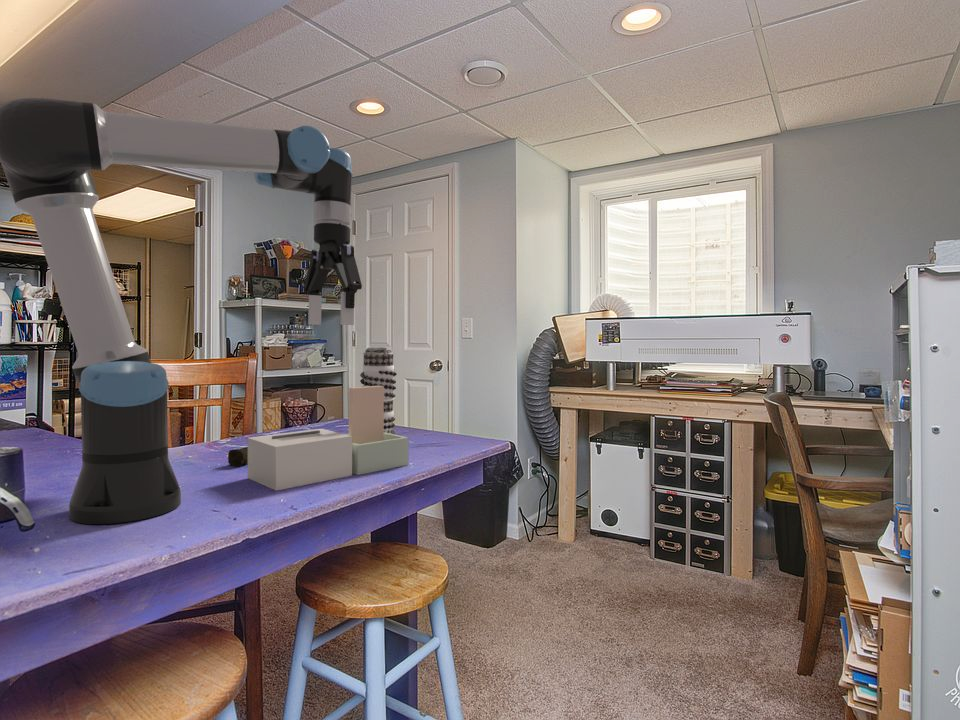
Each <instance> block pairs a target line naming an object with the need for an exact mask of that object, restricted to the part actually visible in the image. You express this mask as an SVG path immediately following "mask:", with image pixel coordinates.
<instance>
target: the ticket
mask: <svg viewBox="0 0 960 720" xmlns="http://www.w3.org/2000/svg"><path fill="white" fill-rule="evenodd" d="M348 433H349V435H350V436H352V443H356V444H364V443H371V442H377V441H383V440H384V386H368V387H363V386H357V387H348Z"/></svg>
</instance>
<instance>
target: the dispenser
mask: <svg viewBox="0 0 960 720" xmlns="http://www.w3.org/2000/svg"><path fill="white" fill-rule="evenodd" d="M346 434H347V433H341V432H337V431H332V430H330V429H325V428H316V429H307V430H305V429H304V430H298V431H289V432H284V433H273V434H268V435H260V436H252V437H247V447H248V463H247V479H249V480H251V481H253V482H256V483H258V484H260V485H263V486H264V487H266V488H269V489H271V490H274V491H280V490H286V489H290V488H297V487H301V486H306V485H310V484H312V485H313V484H316V483H321V482H326V481H331V480H336V479H341V478H346V477H350V476H351V477H352V476H353V473H352V436H350V435H346Z"/></svg>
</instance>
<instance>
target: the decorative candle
mask: <svg viewBox="0 0 960 720" xmlns="http://www.w3.org/2000/svg"><path fill="white" fill-rule="evenodd" d="M362 354H363V365H362V372H361V373H360V375H359V376H360V377H361V379H360V381H359V382H360V384H361V385H362V387H368V386H384V432H385V433H390V434H394V435H396V430H395V429H394V428H395V427H396V424H395V423H394V422H395V421H396V418H395V417H394V416H395V414H394V413H395V411H394V400H396V394H394V391H395V390H396V389H397V387H396V386H395V384H396V383H397V380H395V379H394V377H396V376H397V374H398V373H397V372H395V365H394V353H393V351H392V349H391V348H390V347H367V348H366V349H365V351H364V352H363V353H362Z"/></svg>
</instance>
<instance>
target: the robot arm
mask: <svg viewBox="0 0 960 720" xmlns="http://www.w3.org/2000/svg"><path fill="white" fill-rule="evenodd" d="M0 164H1V166H2V169H3V172H4V174H5V178H6V180H7V183H8V187H9V190H10V192H11V194H12V198H13V201H14V204H15V206H16V207H17V208H18V209H20V210H21V211H23V212H25V213H26V214H28V215H30V216H31V219H32V221H33V225H34V228H35V230H36V233H37V236H38V240H39V243H40V245H41V248H42V250H43V254H44V257H45V260H46V263H47V265H48V268H49V272H50V274H51V277H52V281H53V283H54V286H55V289H56V292H57V294H58V298H59V301H60V303H61V307H62V309H63V313H64V315H65V319H66V321H67V324H68V327H69V331H70V333H71V336H72V339H73V342H74V344H75V347H76V351H77V354H78V357H77V358H76V360H75V362H74V363H73V365H72V366H71V368H72V371H73V374H74V377H75V380H76V383H77V385H78V391H79V392H80V410H81V412H80V413H81V417H80V419H81V452H82V453H81V456H82V458H81V460H82V463H81V469H80V472H79V474H78V478H77V481H76V484H75V486H74V488H73V491H72V492H73V493H72V494H71V497H70V500H69V503H68V508H69V509H68V511H69V514H68V515H69V519H70V520H71V521H73V522H75V523H79V524H86V525H89V524H90V525H108V524H109V525H110V524H121V523H128V522H135V521H140V520H145V519H149V518H153V517H157V516H160V515H164V514H166V513H169V512H170V511H171V512H172V511H173V510H175V509H177V508H178V507H179V506H180V505H181V503H182V496H181V495H182V492H181V487H180V484H179V482H178V480H177V476H176V475H175V472H174V469H173V466H172V464H171V461H170V459H169V429H168V421H169V420H168V419H169V418H168V389H169V386H170V385H169V384H170V383H169V381H168V377H167V376H168V375H167V371H166V369H165V368H164V367H163V366H162V365H160V364H158V363H155V362H154V363H153V362H152V360H151V357H150V354H149V351H148V349H147V348H145V347H143V346H141V345H139V344H138V343H136V341H135V338H134V335H133V333H132V329H131V326H130V323H129V320H128V316H127V314H126V310H125V307H124V304H123V301H122V298H121V295H120V292H119V288H118V285H117V282H116V279H115V276H114V273H113V271H112V267H111V265H110V264H111V262H110V261H109V258H108V254H107V251H106V249H105V248H106V247H105V245H104V242H103V239H102V235H101V231H100V230H99V227H98V223H97V220H96V217H95V215H94V210H93V209H94V207H95V205H96V204H97V203H98V201H99V199H100V197H99V194H98V190H97V187H96V184H95V181H94V178H93V175H92V172H91V170H92V171H93V170H98V171H105V170H106V169H107V168H108V167H109V166H110V165H125V166H126V165H127V166H128V165H129V166H140V167H141V166H142V167H143V166H144V167H145V166H147V167H162V168H176V169H177V168H178V169H195V170H209V171H210V170H213V171H230V172H231V171H233V172H245V173H247V172H248V173H253V177H254V180H255V182H256V183H257V184H258V185H260V186H265V187H268V188H271V189H279V190H286V191H293V192H299V193H306V194H309V195H310V194H311V195H313V196H314V203H313V204H314V205H313V206H314V208H313V209H314V210H313V211H314V212H313V213H314V214H313V220H314V222H315V223H316V224H315V225H313V241H314V243H316V244H318V245H319V248H318V249H312V250H311V251H310V262H309V265H308V268H307V269H308V270H307V273H306V277H305V280H304V285H303V288H302V289H303V290H302V291H303V293H305V294H306V295H307V296H308V316H307V317H308V320H307V321H308V323H307V324H308V325H315V326H321V325H322V307H323V306H322V303H323V302H322V296H323V294H322V289H323V287H324V285H325V282H326V280H327V277H328V275H329V274H330V273H331V272H332V271H333V270H334V271H335V273H336V277H337V278H338V281H339V284H340V286H341V289H340V316H339V317H340V324H339V325H344V326H354V324H355V307H356V306H355V304H356V303H355V301H356V299H355V298H356V296H355V295H356V293H357V291H358V290H362V289H363V288H362V287H363V284H362V281H361V277H360V273H359V269H358V266H357V261H356V258H355V257H356V256H355V247H354V245H351V244H350V243H351V228H350V227H349V226H350V225H351V216H352V213H351V211H352V209H351V206H352V203H351V202H352V201H351V200H352V183H353V182H352V179H353V170H352V169H353V167H352V165H353V164H352V157H351V156H350V154H349V153H348V152H347V151H345V150H343V149H340V148H335V147H330V143H329V141H328V139H327V137H326V135H325V134H324V133H323V132H322V130H320V129H318V128H317V127H314V126H311V125H301V126H299V127H295V128H293V129H292V130H285V129H284V130H283V129H272V128H271V129H270V128H262V127H261V128H260V127H253V126H252V127H251V126H242V125H240V126H239V125H233V124H222V123H214V122H203V121H197V120H196V121H193V120H187V119H185V120H184V119H177V118H176V119H175V118H168V117H156V116H148V115H138V114H127V113H120V112H119V113H118V112H111V111H105V110H103V109H102V108H101V107H100V106H99V105H98V104H96V103H91V102H83V101H76V100H75V101H74V100H66V99H56V98H48V97H47V98H46V97H45V98H44V97H42V98H41V97H22V98H16V99H11V100H9V101H8V102H5V103H3V104H1V105H0Z"/></svg>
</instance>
